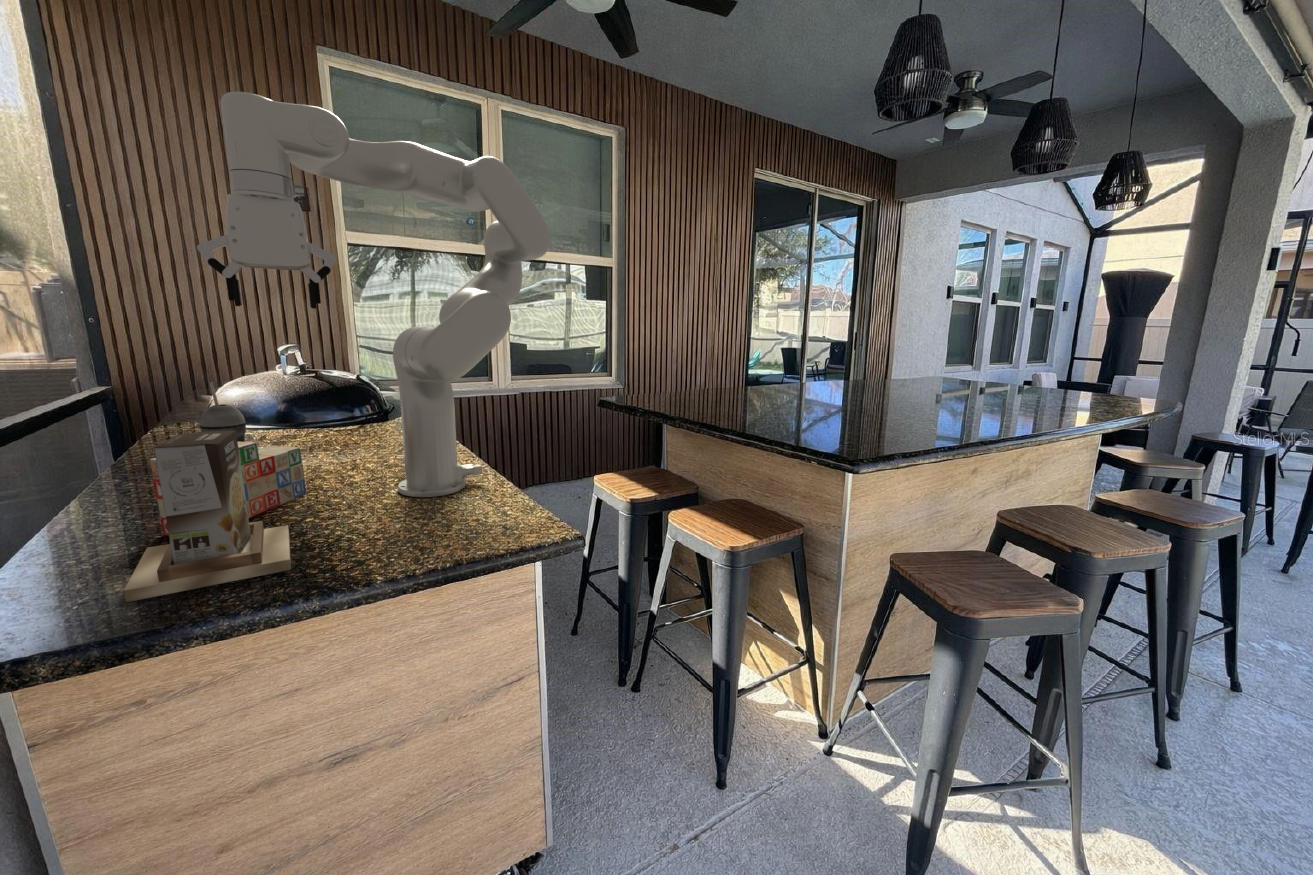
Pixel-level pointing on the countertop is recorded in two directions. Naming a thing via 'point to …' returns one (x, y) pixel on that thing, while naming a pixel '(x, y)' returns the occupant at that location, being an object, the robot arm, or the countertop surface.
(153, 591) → the base board
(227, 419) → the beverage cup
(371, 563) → the countertop surface
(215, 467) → the coffee box
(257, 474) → the stack of blocks
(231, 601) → the countertop surface
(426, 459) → the robot arm
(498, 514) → the countertop surface
